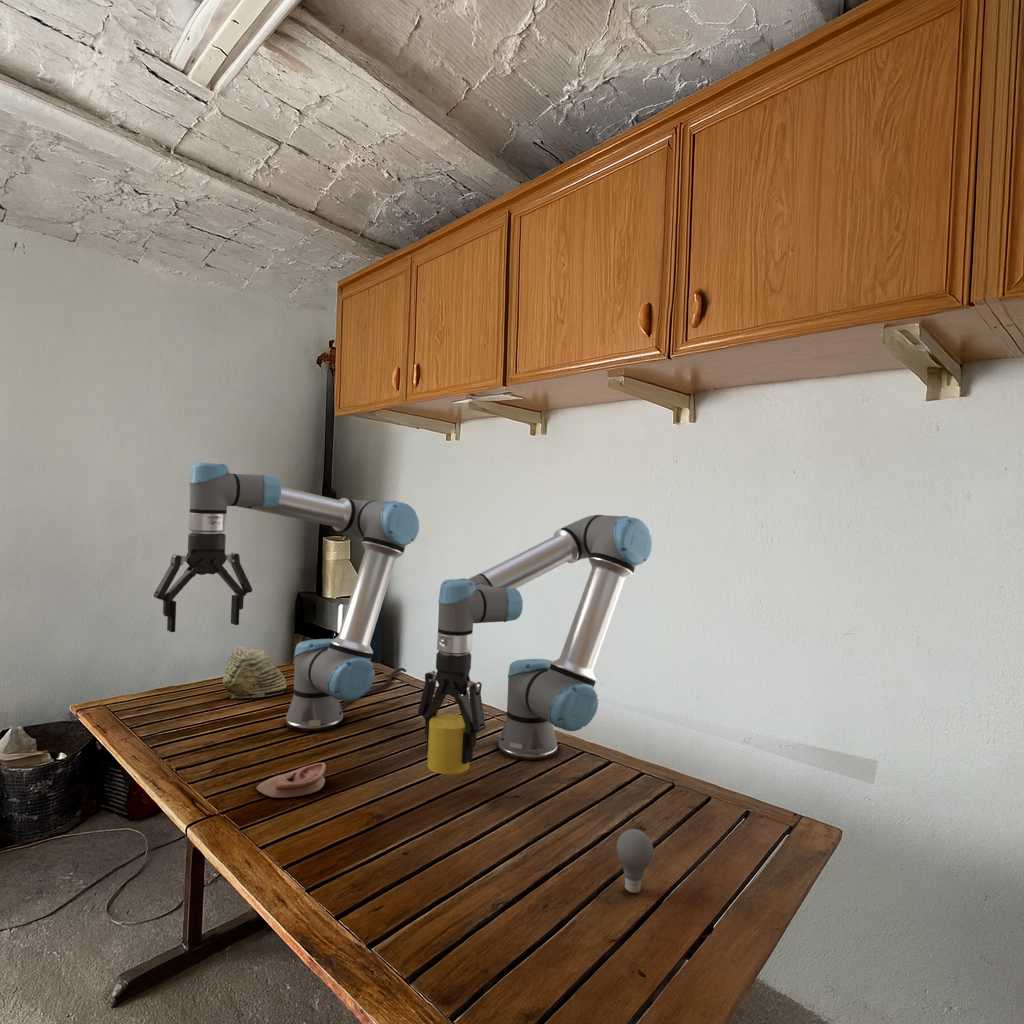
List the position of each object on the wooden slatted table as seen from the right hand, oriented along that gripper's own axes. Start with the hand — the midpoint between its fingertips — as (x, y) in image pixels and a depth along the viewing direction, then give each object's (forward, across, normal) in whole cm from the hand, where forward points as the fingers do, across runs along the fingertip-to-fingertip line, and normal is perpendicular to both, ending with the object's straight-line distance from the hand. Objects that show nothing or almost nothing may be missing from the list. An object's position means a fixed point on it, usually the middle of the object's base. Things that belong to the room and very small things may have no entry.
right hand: (448, 755), depth 137 cm
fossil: (+9, -89, +15) cm, 91 cm away
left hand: (-24, -50, -26) cm, 61 cm away
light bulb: (+9, +46, -8) cm, 47 cm away
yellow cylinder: (+2, 0, 0) cm, 2 cm away
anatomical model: (+9, -29, -18) cm, 35 cm away
